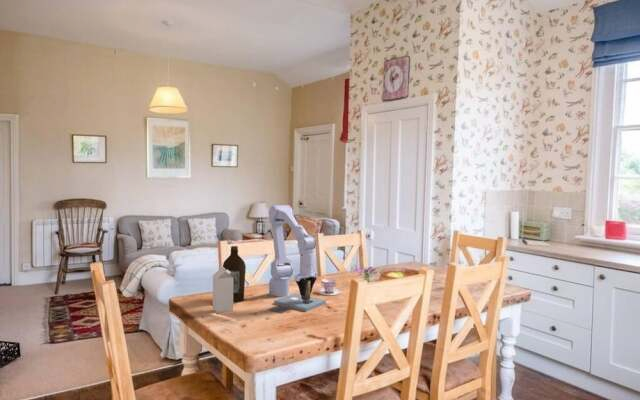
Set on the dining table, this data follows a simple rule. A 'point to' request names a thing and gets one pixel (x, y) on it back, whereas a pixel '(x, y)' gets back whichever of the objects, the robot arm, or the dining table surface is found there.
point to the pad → (279, 309)
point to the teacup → (329, 287)
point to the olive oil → (236, 273)
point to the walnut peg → (307, 291)
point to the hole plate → (299, 302)
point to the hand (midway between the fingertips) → (305, 294)
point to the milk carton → (222, 291)
